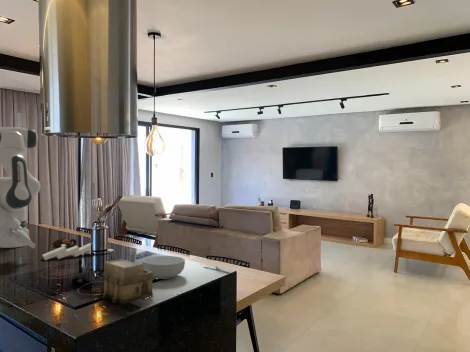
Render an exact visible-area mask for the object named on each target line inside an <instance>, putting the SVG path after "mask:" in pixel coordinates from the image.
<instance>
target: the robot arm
mask: <svg viewBox="0 0 470 352" xmlns="http://www.w3.org/2000/svg"><path fill="white" fill-rule="evenodd" d="M38 142H39V136H38V133H37V131H36V130H35V129H32V128H24V127H17V126H14V127H13V126H1V127H0V166H2V168H3V169H4V170H5V172H8V173H10V175H11V176H0V248H4V249H6V248H9V249H10V248H12V249H13V248H20V247H26V246H28V247H30V248H31V249H35V248H36V244H35V243H34V242H33V241H32V239H31V238H30V230H29V229H28V228H27V220H26V207H27V206H28V205H30V203H31V202H32V198H33V196H37V195H38V194H39V192H40V191H41V189H42V188H41V186H42V185H41V182H40V181H39V180H38V179H37V178H36V177H34V176H33V175H32V174H31V173H30V172H29V169H28V165H27V163H28V162H27V149H33V148H35V147H36V146H37V144H38Z"/></svg>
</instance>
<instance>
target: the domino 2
mask: <svg viewBox="0 0 470 352" xmlns="http://www.w3.org/2000/svg"><path fill="white" fill-rule="evenodd" d="M79 248H80V247H79V246H78V245H75V246H74V247H71V248H69V249H66V250H67V252H64V253H62V254H59V255H57V256H56V258H57V259H58V260H60V259H62V258H65V257H68V256H70V255H72V254H73V253H75V252H78V251H80V250H79Z"/></svg>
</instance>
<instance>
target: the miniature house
mask: <svg viewBox="0 0 470 352" xmlns="http://www.w3.org/2000/svg"><path fill="white" fill-rule="evenodd" d="M103 270H104V271H103V273H104V274H103V277H102V280H103V294H102V298H103V299H102V298H101V299H102V300H105V298H106V299H110V300H111V303H112V304H116V303H118V304H119V303H120V304H122V305H124V304H128V303H132V302H134V301H133V300H135V301H137V299H138V300H140V298H141V300H143V299H144V300H143V301H145V300H146V299H145V298H147V297H150V296H151V297H153V298H154V295H153V279H154V278H155V277H154V276H153V272H151V271H148V270H144V265H143V263H139V262H138V263H137V262H133V261H130V260H126V259H125V258H121V259H114V260H110V261H104V269H103Z"/></svg>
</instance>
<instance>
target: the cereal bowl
mask: <svg viewBox="0 0 470 352" xmlns="http://www.w3.org/2000/svg"><path fill="white" fill-rule="evenodd" d="M185 261H186V259H185V258H183V257H180V256H176V255H175V256H173V255H158V256H150V257H147V258H144V259H143V260H142V264H143V265H144V270H148V271H151V272H153V276H154V277H155V278H158V279H167V280H170V278H171V279H173V278H174V277H176V276H178V275H180V274H181V273H182V272H183V271H184V269H185V265H186V264H185V263H186V262H185ZM158 279H157V280H158Z"/></svg>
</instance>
